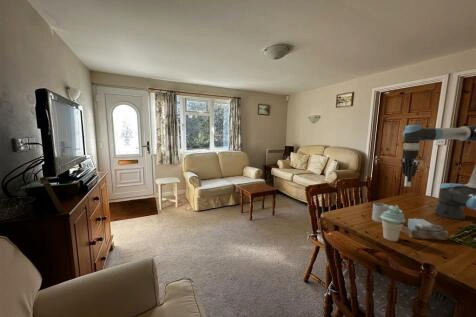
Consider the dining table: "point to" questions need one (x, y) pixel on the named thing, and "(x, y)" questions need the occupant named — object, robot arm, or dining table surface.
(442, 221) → the dining table surface
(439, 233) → the bay
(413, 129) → the robot arm
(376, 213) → the mug
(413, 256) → the dining table surface
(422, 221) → the crate
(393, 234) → the frozen yogurt cup
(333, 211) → the dining table surface
